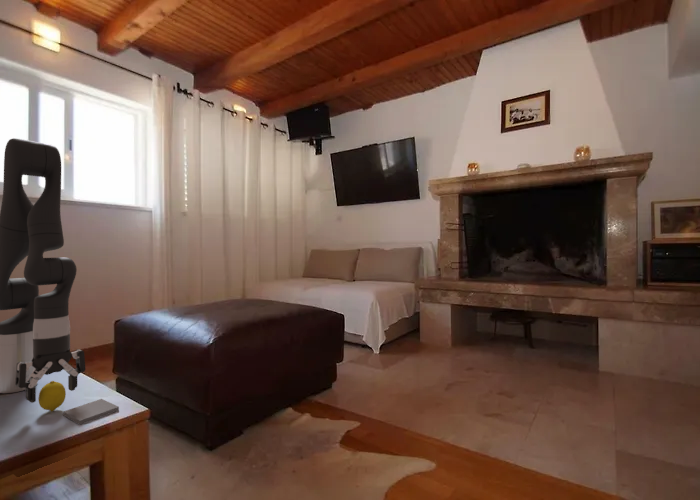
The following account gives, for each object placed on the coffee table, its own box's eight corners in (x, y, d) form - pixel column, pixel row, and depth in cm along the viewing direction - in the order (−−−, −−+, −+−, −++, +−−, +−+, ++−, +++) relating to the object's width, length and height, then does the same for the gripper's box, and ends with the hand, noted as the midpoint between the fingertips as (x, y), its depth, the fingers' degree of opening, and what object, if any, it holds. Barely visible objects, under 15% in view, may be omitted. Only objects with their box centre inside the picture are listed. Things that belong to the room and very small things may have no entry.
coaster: (63, 415, 94) (63, 411, 94) (101, 402, 101) (101, 398, 101) (79, 424, 89) (79, 420, 89) (118, 410, 97) (118, 406, 97)
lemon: (62, 404, 100) (62, 375, 100) (68, 410, 96) (68, 380, 96) (36, 411, 95) (36, 381, 95) (41, 418, 92) (41, 387, 92)
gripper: (76, 327, 103) (77, 383, 103) (10, 338, 91) (11, 402, 91) (89, 330, 99) (90, 389, 100) (22, 342, 87) (23, 409, 87)
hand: (52, 395), depth 95 cm, fingers open, 8 cm apart
